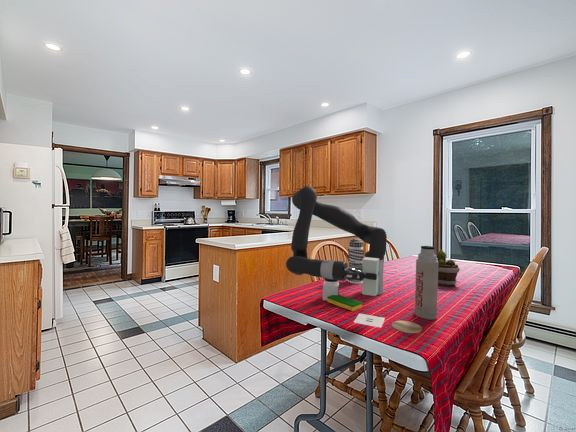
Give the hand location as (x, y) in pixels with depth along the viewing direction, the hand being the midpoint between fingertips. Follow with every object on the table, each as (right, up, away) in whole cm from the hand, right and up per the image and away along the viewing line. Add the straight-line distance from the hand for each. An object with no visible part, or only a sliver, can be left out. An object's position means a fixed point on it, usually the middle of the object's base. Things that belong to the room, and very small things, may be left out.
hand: (377, 275), depth 106 cm
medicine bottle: (-13, -17, +27) cm, 35 cm away
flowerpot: (+55, -17, +56) cm, 80 cm away
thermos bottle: (+22, -18, +8) cm, 29 cm away
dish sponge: (-9, -17, +19) cm, 27 cm away
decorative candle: (+5, -16, +58) cm, 61 cm away
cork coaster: (+9, -18, -4) cm, 21 cm away
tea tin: (-2, -7, +1) cm, 8 cm away
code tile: (-3, -18, +2) cm, 18 cm away
